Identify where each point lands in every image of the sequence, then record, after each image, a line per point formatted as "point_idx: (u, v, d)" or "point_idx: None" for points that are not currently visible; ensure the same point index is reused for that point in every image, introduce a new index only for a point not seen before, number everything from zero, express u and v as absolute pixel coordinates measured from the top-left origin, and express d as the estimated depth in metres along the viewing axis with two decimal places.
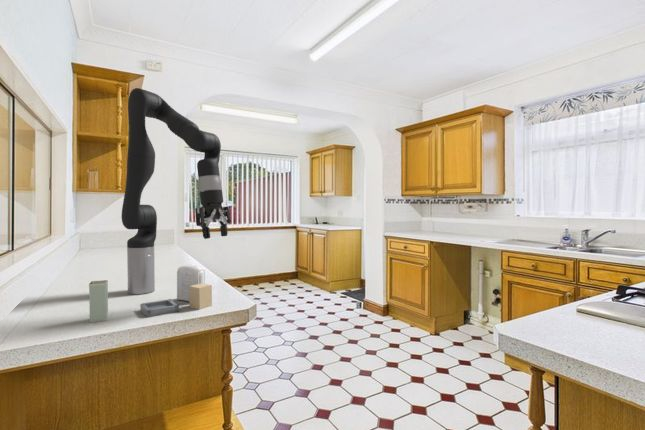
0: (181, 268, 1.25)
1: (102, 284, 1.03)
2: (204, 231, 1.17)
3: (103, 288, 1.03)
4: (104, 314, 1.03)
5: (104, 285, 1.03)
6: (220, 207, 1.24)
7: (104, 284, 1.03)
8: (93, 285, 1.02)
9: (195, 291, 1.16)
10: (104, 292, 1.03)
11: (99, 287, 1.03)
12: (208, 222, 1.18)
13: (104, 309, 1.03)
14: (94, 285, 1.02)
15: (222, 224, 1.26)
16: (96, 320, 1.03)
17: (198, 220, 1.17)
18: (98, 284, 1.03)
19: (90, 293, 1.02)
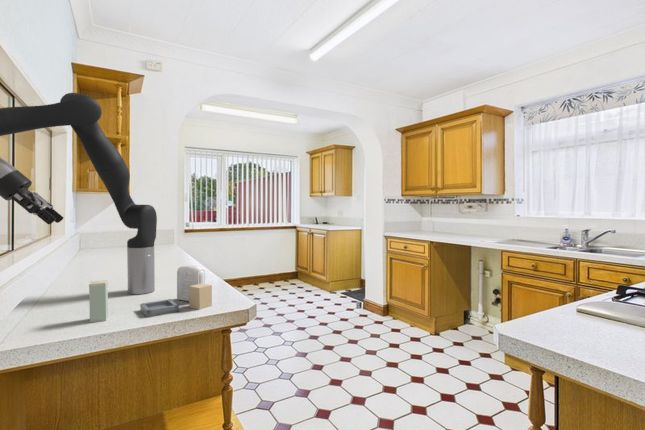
0: (181, 268, 1.25)
1: (102, 284, 1.03)
2: None
3: (103, 288, 1.03)
4: (104, 314, 1.03)
5: (104, 285, 1.03)
6: None
7: (104, 284, 1.03)
8: (93, 285, 1.02)
9: (195, 291, 1.16)
10: (104, 292, 1.03)
11: (99, 287, 1.03)
12: None
13: (104, 309, 1.03)
14: (94, 285, 1.02)
15: None
16: (96, 320, 1.03)
17: None
18: (98, 284, 1.03)
19: (90, 293, 1.02)
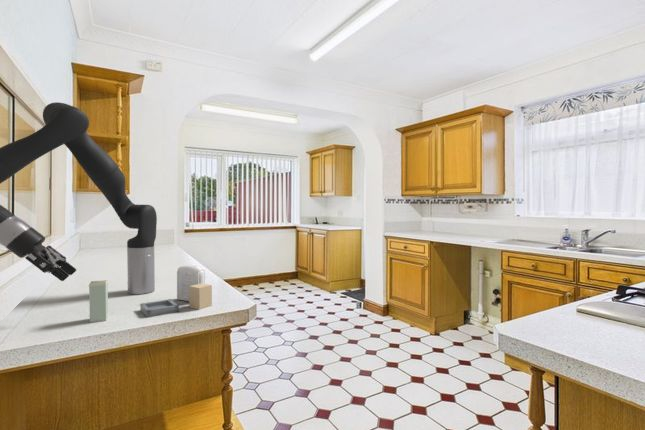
0: (181, 268, 1.25)
1: (102, 284, 1.03)
2: None
3: (103, 288, 1.03)
4: (104, 314, 1.03)
5: (104, 285, 1.03)
6: None
7: (104, 284, 1.03)
8: (93, 285, 1.02)
9: (195, 291, 1.16)
10: (104, 292, 1.03)
11: (99, 287, 1.03)
12: None
13: (104, 309, 1.03)
14: (94, 285, 1.02)
15: None
16: (96, 320, 1.03)
17: None
18: (98, 284, 1.03)
19: (90, 293, 1.02)
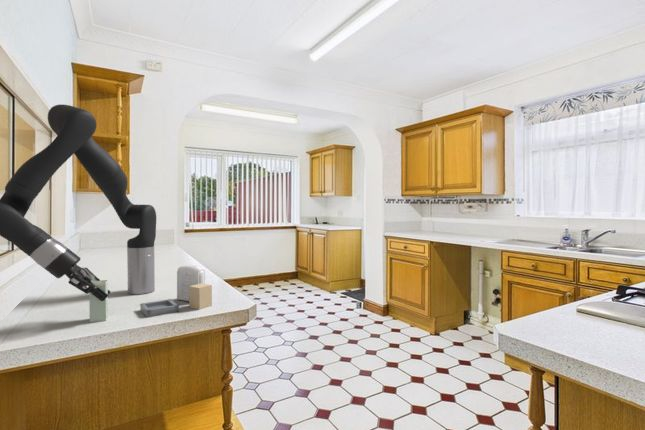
0: (181, 268, 1.25)
1: (102, 284, 1.03)
2: None
3: (103, 288, 1.03)
4: (104, 314, 1.03)
5: (104, 285, 1.03)
6: None
7: (104, 284, 1.03)
8: None
9: (195, 291, 1.16)
10: None
11: (99, 287, 1.03)
12: None
13: (104, 309, 1.03)
14: None
15: None
16: (96, 320, 1.03)
17: None
18: (98, 284, 1.03)
19: None
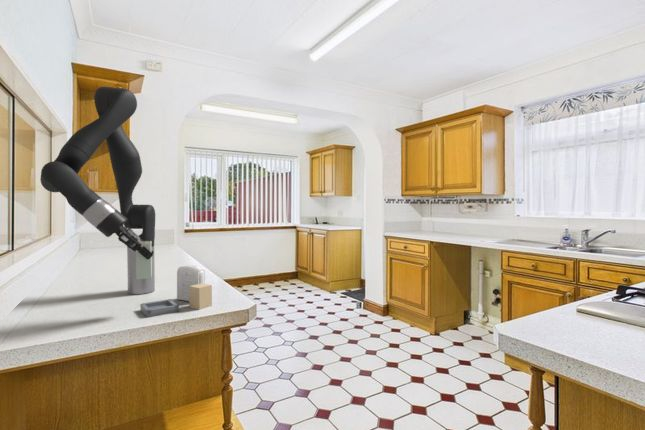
0: (181, 268, 1.25)
1: (147, 243, 1.09)
2: None
3: (148, 247, 1.09)
4: (149, 272, 1.10)
5: (149, 244, 1.09)
6: None
7: (149, 243, 1.09)
8: None
9: (195, 291, 1.16)
10: None
11: (145, 246, 1.09)
12: None
13: (149, 267, 1.09)
14: None
15: None
16: (142, 277, 1.09)
17: None
18: (144, 243, 1.09)
19: None
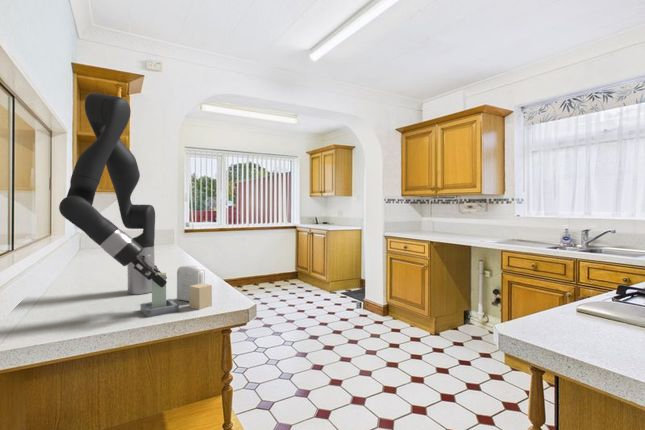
0: (181, 268, 1.25)
1: (163, 275, 1.11)
2: None
3: (164, 279, 1.12)
4: (164, 303, 1.12)
5: (164, 276, 1.12)
6: None
7: (164, 275, 1.12)
8: None
9: (195, 291, 1.16)
10: None
11: None
12: (149, 272, 1.15)
13: (164, 299, 1.12)
14: None
15: None
16: None
17: None
18: (159, 275, 1.11)
19: (152, 284, 1.10)
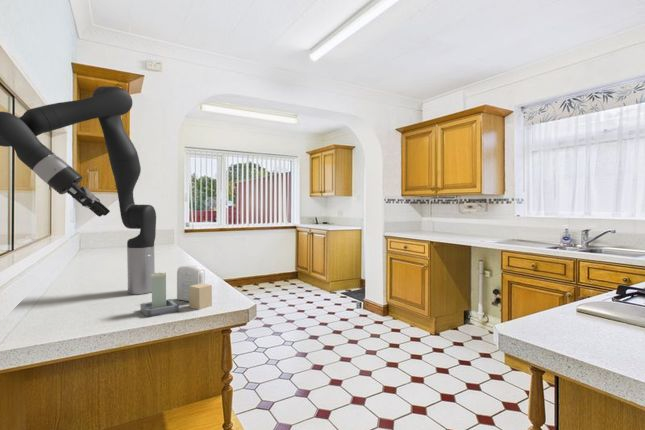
0: (181, 268, 1.25)
1: (163, 275, 1.11)
2: None
3: (164, 279, 1.12)
4: (164, 303, 1.12)
5: (164, 276, 1.12)
6: None
7: (164, 275, 1.12)
8: (155, 276, 1.10)
9: (195, 291, 1.16)
10: (164, 283, 1.12)
11: (160, 278, 1.11)
12: None
13: (164, 299, 1.12)
14: (156, 276, 1.11)
15: None
16: None
17: None
18: (159, 275, 1.11)
19: (152, 284, 1.10)
